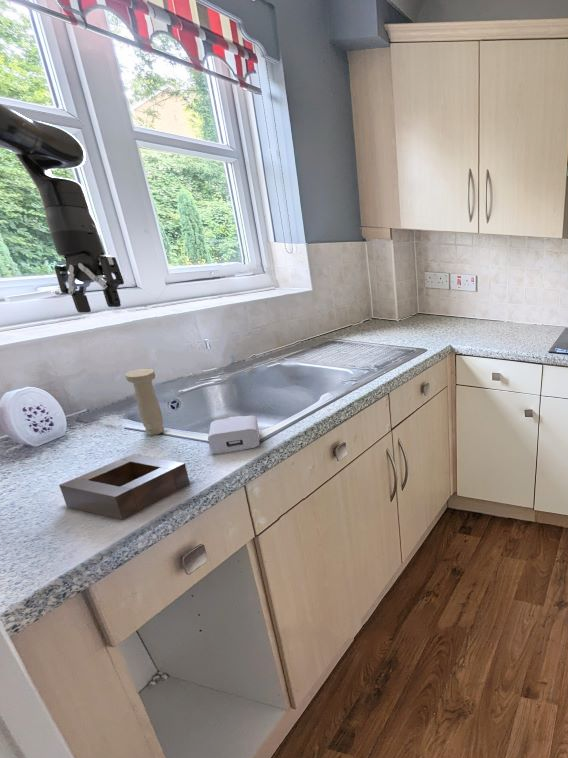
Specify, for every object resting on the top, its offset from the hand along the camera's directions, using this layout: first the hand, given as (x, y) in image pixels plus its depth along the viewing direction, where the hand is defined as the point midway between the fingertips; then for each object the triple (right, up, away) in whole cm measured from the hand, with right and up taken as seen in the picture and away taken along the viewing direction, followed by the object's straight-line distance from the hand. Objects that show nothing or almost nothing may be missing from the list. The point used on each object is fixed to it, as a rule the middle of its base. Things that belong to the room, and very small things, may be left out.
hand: (99, 309), depth 99 cm
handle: (+5, -28, +9) cm, 30 cm away
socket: (+21, -37, -15) cm, 45 cm away
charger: (+24, -29, +9) cm, 39 cm away
